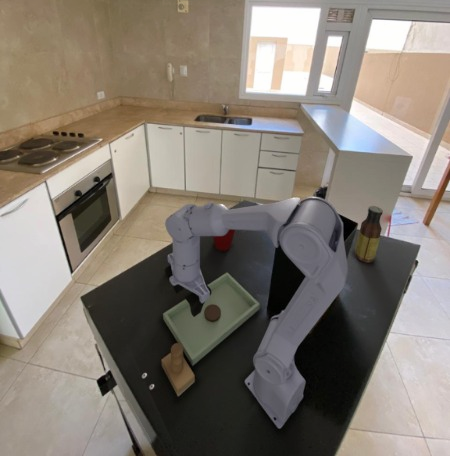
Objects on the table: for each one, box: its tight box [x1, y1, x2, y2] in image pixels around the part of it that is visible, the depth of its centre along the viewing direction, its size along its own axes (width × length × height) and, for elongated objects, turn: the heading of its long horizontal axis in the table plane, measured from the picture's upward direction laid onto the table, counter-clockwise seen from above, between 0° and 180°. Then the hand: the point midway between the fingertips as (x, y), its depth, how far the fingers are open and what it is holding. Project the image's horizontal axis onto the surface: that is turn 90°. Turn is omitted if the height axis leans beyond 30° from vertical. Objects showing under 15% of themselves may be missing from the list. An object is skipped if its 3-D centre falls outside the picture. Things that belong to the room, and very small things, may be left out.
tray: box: [162, 272, 261, 367], centre depth 67 cm, size 14×22×2 cm, turn 130°
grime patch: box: [204, 304, 221, 322], centre depth 67 cm, size 4×4×1 cm
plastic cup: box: [212, 229, 236, 251], centre depth 90 cm, size 11×11×12 cm
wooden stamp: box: [160, 342, 196, 397], centre depth 53 cm, size 7×4×8 cm, turn 40°
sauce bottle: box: [354, 205, 383, 264], centre depth 86 cm, size 6×6×20 cm
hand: (187, 301), depth 60 cm, fingers open, 7 cm apart
